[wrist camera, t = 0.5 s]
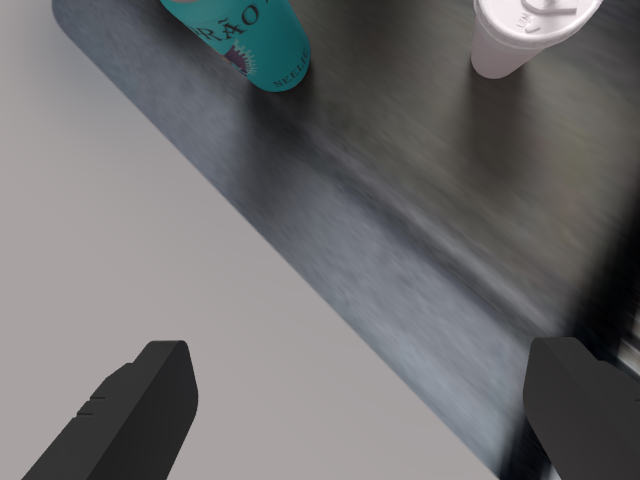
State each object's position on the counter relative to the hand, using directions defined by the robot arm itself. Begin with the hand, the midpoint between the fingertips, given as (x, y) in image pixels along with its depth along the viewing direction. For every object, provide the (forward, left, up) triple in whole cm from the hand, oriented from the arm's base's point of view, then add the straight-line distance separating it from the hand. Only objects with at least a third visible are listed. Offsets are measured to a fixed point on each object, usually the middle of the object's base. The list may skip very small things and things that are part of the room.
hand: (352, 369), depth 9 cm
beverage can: (-3, -18, -24) cm, 30 cm away
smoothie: (-16, -7, -24) cm, 29 cm away
